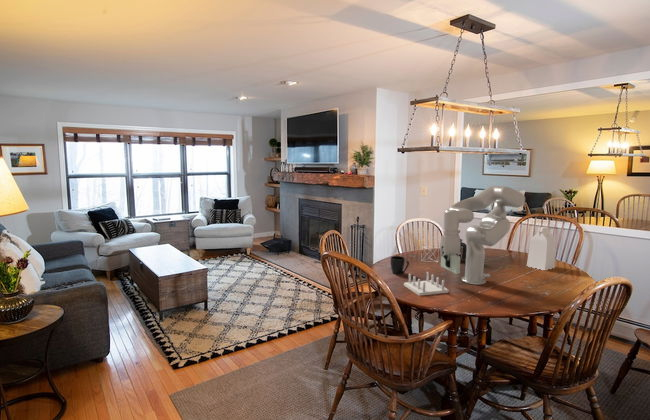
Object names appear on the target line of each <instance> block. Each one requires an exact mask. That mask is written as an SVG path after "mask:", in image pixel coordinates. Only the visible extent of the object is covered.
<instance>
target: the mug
mask: <svg viewBox="0 0 650 420" xmlns="http://www.w3.org/2000/svg"><path fill="white" fill-rule="evenodd" d="M405 262H406V266H405ZM409 266H410V261H408V260H405V257H404V256H399V255H393V256H390V269H391V273H392V274H393V275H397V274H400V275H403V274H405V272H406V270H407V269H408V267H409ZM404 267H405V268H404Z"/></svg>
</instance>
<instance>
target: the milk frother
mask: <svg viewBox="0 0 650 420" xmlns="http://www.w3.org/2000/svg"><path fill="white" fill-rule="evenodd" d="M460 244H461V249H460V252H461V254H460V255H458V256H460V263H461V262H462V261H466V250H467V243H465V242H463V239H462V238H460Z"/></svg>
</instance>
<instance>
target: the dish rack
mask: <svg viewBox="0 0 650 420" xmlns="http://www.w3.org/2000/svg"><path fill="white" fill-rule="evenodd" d="M429 277H430V271H426V279H425V280H422V279H421V278H418V279H417V281H416V278H417V276H416V275H415V276H414V275H413V276H412V273H408V282H407V281H406V282H403V286H404V287H406V288H407V289H409V290H410V291H412V292H413V293H414V294H416V295H417V296H431V295H438V294H448V293H449V291H450V290H449V289H448V288H447V287H445V281H446V280H445V279H441V284H440V277H439V276H437V277H436V281H434V280H435V274H431V279H430V280H429Z"/></svg>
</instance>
